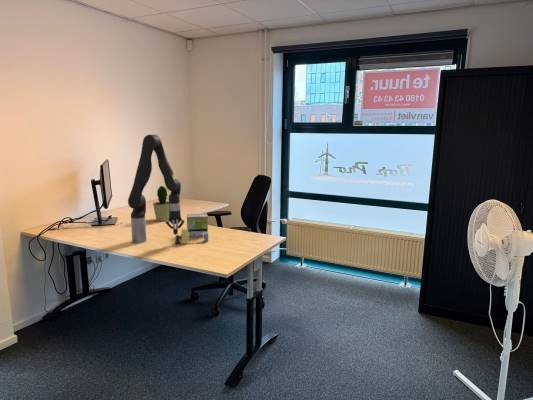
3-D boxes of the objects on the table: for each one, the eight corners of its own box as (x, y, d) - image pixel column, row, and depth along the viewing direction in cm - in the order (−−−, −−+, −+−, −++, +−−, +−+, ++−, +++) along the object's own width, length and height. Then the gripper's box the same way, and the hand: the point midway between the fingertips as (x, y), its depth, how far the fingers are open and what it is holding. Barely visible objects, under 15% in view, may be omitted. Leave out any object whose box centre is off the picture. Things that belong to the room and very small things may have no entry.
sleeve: (181, 241, 253) (181, 230, 252) (181, 239, 258) (180, 228, 256) (189, 241, 255) (188, 229, 253) (188, 239, 259) (188, 228, 258)
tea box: (187, 236, 272) (186, 216, 269) (187, 233, 281) (186, 213, 279) (208, 235, 274) (207, 216, 272) (207, 232, 284) (206, 213, 281)
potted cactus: (151, 219, 323) (149, 185, 317) (168, 217, 332) (166, 183, 327) (157, 222, 311) (156, 187, 305) (175, 220, 320) (173, 185, 315)
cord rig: (176, 244, 252) (175, 236, 251) (175, 242, 258) (174, 233, 256) (208, 242, 259) (208, 233, 258) (207, 239, 264) (207, 231, 263)
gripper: (164, 211, 245) (165, 236, 248) (185, 209, 249) (186, 235, 252) (164, 208, 252) (165, 233, 255) (184, 207, 256) (184, 232, 259)
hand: (175, 234), depth 253 cm, fingers closed
